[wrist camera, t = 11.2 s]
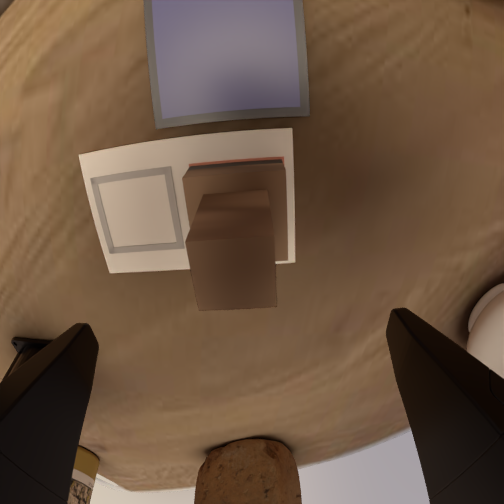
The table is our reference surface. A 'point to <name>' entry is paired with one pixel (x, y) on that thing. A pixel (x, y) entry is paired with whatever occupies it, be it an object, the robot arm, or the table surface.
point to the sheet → (168, 192)
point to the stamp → (236, 232)
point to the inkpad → (226, 60)
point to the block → (249, 475)
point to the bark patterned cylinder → (83, 477)
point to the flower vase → (488, 330)
